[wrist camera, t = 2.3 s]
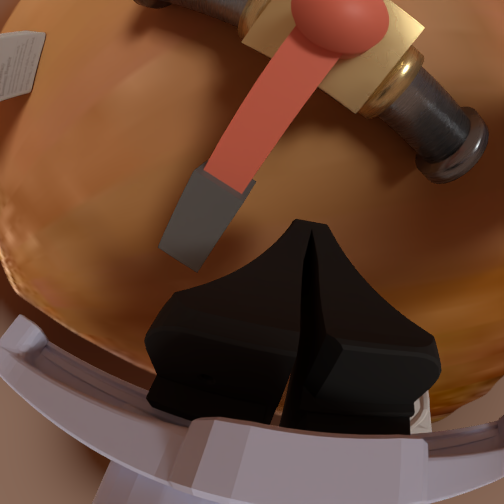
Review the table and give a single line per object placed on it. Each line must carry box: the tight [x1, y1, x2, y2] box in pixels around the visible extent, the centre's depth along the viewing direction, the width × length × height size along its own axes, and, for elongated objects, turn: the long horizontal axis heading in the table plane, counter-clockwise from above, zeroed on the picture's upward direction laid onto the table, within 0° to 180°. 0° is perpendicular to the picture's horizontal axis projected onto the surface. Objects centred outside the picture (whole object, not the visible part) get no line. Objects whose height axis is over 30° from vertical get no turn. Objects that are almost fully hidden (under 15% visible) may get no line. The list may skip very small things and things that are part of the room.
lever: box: [158, 0, 389, 272], centre depth 8 cm, size 12×3×2 cm, turn 149°
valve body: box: [238, 0, 424, 119], centre depth 9 cm, size 7×5×5 cm
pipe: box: [134, 0, 489, 184], centre depth 9 cm, size 18×5×5 cm, turn 58°
